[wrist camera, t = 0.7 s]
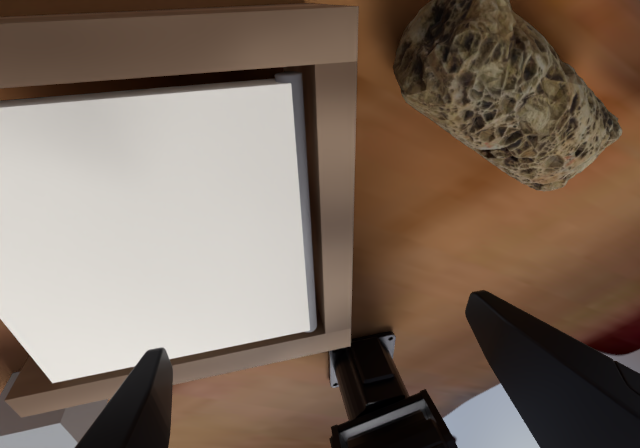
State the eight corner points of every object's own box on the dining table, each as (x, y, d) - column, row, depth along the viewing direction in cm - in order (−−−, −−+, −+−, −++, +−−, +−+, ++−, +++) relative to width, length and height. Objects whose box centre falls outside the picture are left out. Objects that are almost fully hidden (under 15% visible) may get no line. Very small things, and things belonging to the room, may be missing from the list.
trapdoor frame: (317, 253, 26) (350, 346, 19) (82, 293, 23) (21, 417, 16) (305, 3, 17) (358, 6, 10) (-76, 20, 15) (-352, 41, 8)
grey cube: (109, 393, 30) (90, 457, 25) (45, 407, 29) (15, 475, 25) (85, 358, 27) (60, 422, 23) (13, 372, 26) (-27, 442, 22)
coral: (570, 105, 24) (661, 133, 19) (507, 177, 26) (574, 219, 21) (431, -36, 18) (512, -50, 13) (363, 75, 20) (409, 100, 15)
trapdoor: (314, 316, 19) (318, 331, 18) (63, 366, 17) (54, 385, 16) (299, 70, 12) (304, 75, 11) (-133, 103, 10) (-165, 113, 9)
